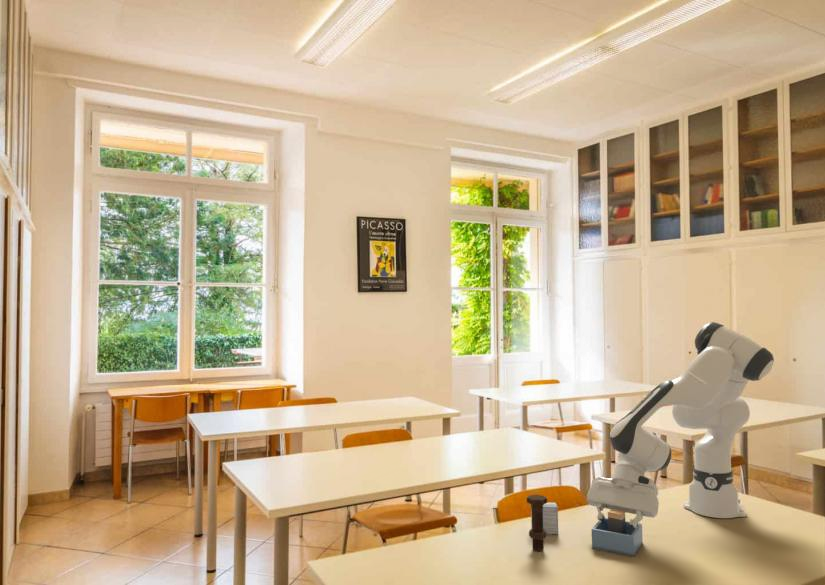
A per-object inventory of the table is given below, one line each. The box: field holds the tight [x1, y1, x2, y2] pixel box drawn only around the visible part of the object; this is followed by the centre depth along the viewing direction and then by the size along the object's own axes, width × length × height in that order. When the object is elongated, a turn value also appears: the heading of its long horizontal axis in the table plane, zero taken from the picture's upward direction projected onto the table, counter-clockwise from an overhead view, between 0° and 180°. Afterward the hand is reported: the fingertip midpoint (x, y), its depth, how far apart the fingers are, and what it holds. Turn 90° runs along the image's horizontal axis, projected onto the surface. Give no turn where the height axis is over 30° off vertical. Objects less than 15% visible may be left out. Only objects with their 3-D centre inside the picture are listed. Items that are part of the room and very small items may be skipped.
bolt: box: [526, 494, 548, 552], centre depth 171 cm, size 6×5×15 cm
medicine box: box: [530, 501, 560, 535], centre depth 184 cm, size 8×4×9 cm, turn 84°
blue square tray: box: [591, 517, 644, 558], centre depth 172 cm, size 12×12×6 cm
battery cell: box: [607, 509, 626, 534], centre depth 172 cm, size 3×4×9 cm
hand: (616, 523), depth 172 cm, fingers open, 8 cm apart
